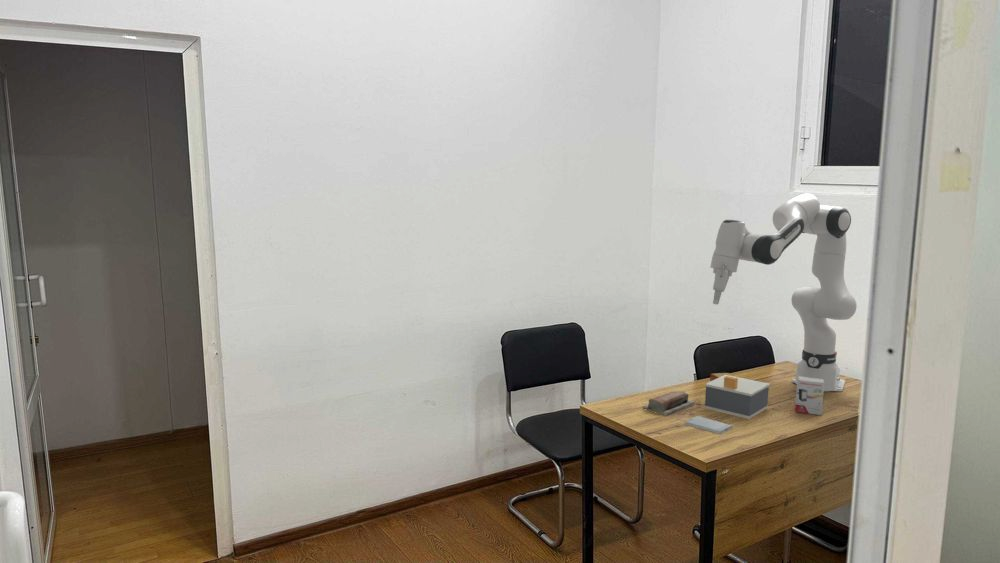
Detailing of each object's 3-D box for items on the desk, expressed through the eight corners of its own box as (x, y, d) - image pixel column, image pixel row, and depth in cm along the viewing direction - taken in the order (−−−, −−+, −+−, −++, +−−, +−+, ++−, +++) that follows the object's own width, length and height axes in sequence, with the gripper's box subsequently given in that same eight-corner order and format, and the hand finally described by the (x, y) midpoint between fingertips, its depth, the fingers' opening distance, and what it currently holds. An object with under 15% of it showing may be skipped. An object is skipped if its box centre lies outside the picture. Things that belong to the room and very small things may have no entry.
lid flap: (725, 376, 251) (725, 365, 250) (770, 385, 240) (770, 374, 239) (704, 386, 239) (705, 374, 238) (751, 396, 227) (752, 384, 227)
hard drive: (685, 421, 223) (720, 430, 215) (697, 415, 229) (732, 424, 220) (684, 426, 224) (720, 435, 215) (697, 420, 229) (732, 429, 221)
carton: (728, 382, 273) (729, 372, 272) (750, 394, 258) (751, 383, 257) (709, 383, 271) (710, 373, 271) (731, 395, 256) (731, 384, 255)
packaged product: (667, 403, 231) (643, 397, 238) (666, 417, 231) (642, 410, 239) (695, 393, 243) (671, 387, 250) (695, 406, 243) (671, 399, 251)
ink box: (794, 412, 237) (797, 379, 235) (794, 408, 241) (797, 375, 240) (822, 415, 233) (824, 382, 232) (821, 411, 238) (824, 378, 236)
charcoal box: (724, 398, 251) (725, 377, 250) (767, 408, 241) (768, 386, 240) (704, 408, 240) (706, 386, 239) (749, 419, 229) (750, 396, 228)
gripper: (733, 265, 224) (724, 306, 224) (733, 268, 243) (725, 305, 244) (714, 261, 226) (705, 302, 226) (715, 264, 245) (707, 301, 246)
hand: (715, 304), depth 235 cm, fingers open, 8 cm apart
